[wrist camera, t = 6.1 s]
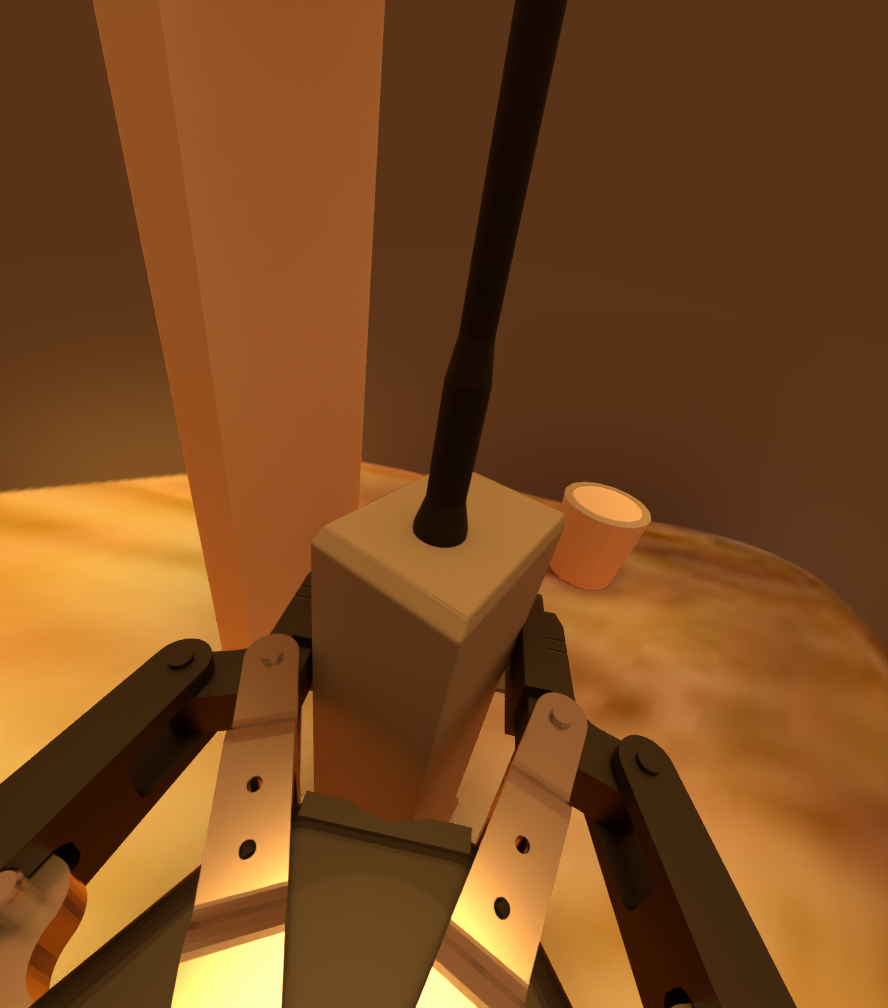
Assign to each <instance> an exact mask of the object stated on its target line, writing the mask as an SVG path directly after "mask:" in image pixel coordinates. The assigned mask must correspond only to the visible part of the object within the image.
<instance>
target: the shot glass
mask: <svg viewBox="0 0 888 1008" xmlns="http://www.w3.org/2000/svg"><path fill="white" fill-rule="evenodd" d="M560 512H562V513H564V514H565V522H564V529H563V532H562V534H561V537H560V539H559V542H558V544H557V546H556V549H555V551H554V554H553V556H552V559H551V561H550V564H549V565H550V567H551V570H552V571H553V572H554V573H555V574H556V575H557V576H558V577H559V578H560V579H562V580H564V581H565V582H567V583H568V584H570V585H572V586H575V587H578V588H581V589H584V590H600V589H604V588H606V587H607V586H608V585H609V584H610V582H611V581H612V580H613V578H614V576H615V575H616V573H617V572H618V570H619V569H620V567H621V566H622V564H623V563H624V561H625V560H626V558H627V557H628V555H629V553H630V552H631V550H632V549H633V547H634V546H635V544H636V543H637V541H638V540H639V538H640V537H641V535H642V534H643V532H644V531H645V529H646V527H647V526H648V524H649V523H650V521H651V516H650V512H649V511H648V509H647V508H646V507H645V506H644V505H643V504H642V503H641V502H640V501H638V500H637V499H635V498H634V497H632V496H631V495H629V494H627V493H625V492H622V491H620V490H618V489H616V488H612V487H609V486H606V485H602V484H598V483H590V482H580V483H573V484H571V485H570V486H568V487H566V490H565V494H564V498H563V502H562V506H561V510H560Z"/></svg>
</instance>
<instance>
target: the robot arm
mask: <svg viewBox="0 0 888 1008" xmlns="http://www.w3.org/2000/svg"><path fill="white" fill-rule="evenodd" d="M309 691H313V666H312V593H311V572H310V573H308V575H307V576H306V578H305V579H304V581H303V583H302V584H301V587H299V589H298V590H297V592H296V594H295V597H293V598H292V600H291V602H290V603H289V605H288V606H287V608H286V609H285V611H284V613H283V614H282V616H281V617H280V619H279V620H278V622H277V624H276V625H275V627H274V628H273V630H272V631H271V633H270V634H269V635H266V636H264V637H261V638H259V639H258V640H256V641H255V642H253V643H252V644H251V645H250V646H249V647H248V648H245V649H240V650H230V651H217V652H212V650H211V647H210V646H209V644H207V643H206V642H205V641H203V640H200V639H183V640H179V641H176V642H173V643H171V644H169V645H167V646H165V647H164V648H163V649H161V650H160V651H159V652H157V653H156V654H155V655H154V656H153V657H151V658H150V659H149V660H148V661H147V662H145V663H144V664H143V665H142V666H141V667H140V668H138V669H137V670H136V671H135V672H134V673H132V674H131V675H130V676H129V677H128V678H126V679H125V680H124V681H123V682H122V683H120V684H119V685H118V686H117V687H116V688H114V689H113V690H112V691H111V692H110V693H108V694H107V695H106V696H105V697H104V698H103V699H101V700H100V701H99V702H98V703H97V704H95V705H94V706H93V707H92V708H91V709H89V710H88V711H87V712H86V713H85V714H83V715H82V716H81V717H80V718H79V719H77V720H76V721H75V722H74V723H73V724H71V725H70V726H69V727H68V728H67V729H65V730H64V731H63V732H62V733H61V734H60V735H58V736H57V737H56V738H55V739H54V740H52V741H51V742H50V743H49V744H48V745H46V746H45V747H44V748H43V749H42V750H40V751H39V752H38V753H37V754H36V755H34V756H33V757H32V758H31V759H30V760H28V761H27V762H26V763H25V764H24V765H22V766H21V767H20V768H19V769H18V770H17V771H15V772H14V773H13V774H12V775H11V776H9V777H8V778H7V779H6V780H5V781H3V782H2V783H1V784H0V1008H573V1007H572V1005H571V1003H570V1001H569V999H568V997H567V995H566V993H565V991H564V989H563V987H562V985H561V983H560V981H559V979H558V977H557V975H556V973H555V971H554V969H553V967H552V965H551V963H550V961H549V959H548V957H547V955H546V952H545V950H544V948H543V946H542V944H541V942H540V937H541V933H542V929H543V925H544V921H545V917H546V913H547V909H548V905H549V901H550V897H551V893H552V889H553V885H554V881H555V877H556V873H557V869H558V865H559V861H560V857H561V853H562V849H563V845H564V841H565V837H566V833H567V829H568V825H569V820H570V816H571V809H572V807H571V806H573V807H574V808H576V809H578V810H579V811H581V812H583V813H584V815H585V819H586V822H587V825H588V828H589V832H590V835H591V838H592V841H593V845H594V848H595V851H596V854H597V858H598V861H599V864H600V867H601V871H602V874H603V877H604V880H605V884H606V887H607V890H608V894H609V897H610V900H611V903H612V907H613V910H614V913H615V916H616V920H617V923H618V926H619V929H620V933H621V936H622V939H623V942H624V946H625V949H626V952H627V955H628V959H629V962H630V965H631V969H632V972H633V975H634V978H635V982H636V985H637V988H638V991H639V995H640V998H641V1001H642V1004H643V1008H797V1007H796V1005H795V1003H794V1001H793V999H792V997H791V995H790V993H789V991H788V989H787V987H786V986H785V984H784V982H783V980H782V978H781V976H780V974H779V972H778V970H777V968H776V966H775V964H774V962H773V960H772V958H771V956H770V954H769V952H768V950H767V948H766V946H765V944H764V942H763V940H762V938H761V936H760V934H759V932H758V930H757V928H756V926H755V924H754V922H753V921H752V919H751V917H750V915H749V913H748V911H747V909H746V907H745V905H744V903H743V901H742V899H741V897H740V895H739V893H738V891H737V889H736V887H735V885H734V883H733V881H732V879H731V877H730V875H729V873H728V871H727V869H726V867H725V865H724V863H723V861H722V859H721V858H720V856H719V854H718V852H717V850H716V848H715V846H714V844H713V842H712V840H711V838H710V836H709V834H708V832H707V830H706V828H705V826H704V824H703V822H702V820H701V818H700V816H699V814H698V812H697V810H696V808H695V806H694V804H693V802H692V800H691V798H690V796H689V795H688V793H687V791H686V789H685V787H684V785H683V783H682V781H681V779H680V777H679V775H678V773H677V771H676V769H675V767H674V765H673V763H672V761H671V760H670V758H669V757H668V755H667V754H666V753H665V752H664V750H663V749H662V748H661V747H659V746H658V745H657V744H656V743H654V742H653V741H651V740H650V739H648V738H645V737H643V736H639V735H630V736H627V737H625V738H624V739H623V740H622V741H621V740H619V739H617V738H615V737H613V736H612V735H610V734H608V733H606V732H604V731H602V730H600V729H599V728H597V727H595V726H594V725H593V724H592V723H590V722H589V721H588V720H587V719H586V716H585V714H584V712H583V711H582V709H581V708H580V706H579V705H578V704H577V703H576V702H575V698H574V693H573V686H572V680H571V674H570V667H569V661H568V655H567V649H566V644H565V636H564V630H563V626H562V624H561V623H560V621H559V620H558V618H557V616H556V615H555V614H554V613H549V612H545V611H544V608H543V599H542V595H540V594H537V596H536V598H535V600H534V603H533V605H532V608H531V610H530V613H529V615H528V618H527V620H526V622H525V624H524V625H523V627H522V629H521V632H520V635H519V637H518V640H517V642H516V645H515V648H514V650H513V653H512V656H511V658H510V660H509V662H508V664H507V666H506V668H505V734H508V735H512V736H515V750H514V753H513V755H512V757H511V759H510V762H509V764H508V767H507V769H506V772H505V774H504V777H503V779H502V781H501V784H500V786H499V789H498V791H497V794H496V796H495V799H494V801H493V803H492V806H491V808H490V811H489V813H488V816H487V818H486V820H485V823H484V825H483V827H482V829H481V832H480V834H479V836H478V839H477V841H476V844H474V843H473V842H471V832H472V828H470V827H466V826H461V825H457V824H452V823H448V822H443V821H439V820H435V819H422V820H411V821H399V822H384V821H382V820H380V819H379V818H377V817H375V816H374V815H372V814H370V813H369V812H367V811H365V810H364V809H362V808H360V807H358V806H357V805H355V804H353V803H352V802H350V801H348V800H346V799H341V798H337V797H333V796H328V795H324V794H319V793H315V792H310V791H307V792H306V795H305V797H304V800H303V802H302V804H300V761H301V727H302V705H303V703H304V701H305V698H306V696H307V694H308V692H309ZM225 730H227V732H226V735H225V739H224V743H223V749H222V754H221V760H220V765H219V771H218V777H217V782H216V788H215V793H214V799H213V804H212V810H211V816H210V821H209V827H208V832H207V838H206V843H205V849H204V854H203V860H202V864H201V865H200V866H199V867H198V868H196V869H195V870H194V871H193V872H192V873H190V874H189V875H188V876H187V877H185V878H184V879H183V880H182V881H181V882H179V883H178V884H177V885H176V886H175V887H173V888H172V889H171V890H170V891H168V892H167V893H166V894H165V895H164V896H162V897H161V898H160V899H159V900H158V901H156V902H155V903H154V904H153V905H151V906H150V907H149V908H148V909H147V910H145V911H144V912H143V913H142V914H141V915H139V916H138V917H137V918H136V919H135V920H133V921H132V922H131V923H130V924H128V925H127V926H126V927H125V928H124V929H122V930H121V931H120V932H119V933H118V934H116V935H115V936H114V937H113V938H111V939H110V940H109V941H108V942H107V943H105V944H104V945H103V946H102V947H101V948H99V949H98V950H97V951H96V952H94V953H93V954H92V955H91V956H90V957H88V958H87V959H86V960H85V961H84V962H82V963H81V964H80V965H79V966H77V967H76V968H75V969H74V970H73V971H71V972H70V973H69V974H68V975H67V976H65V977H64V978H63V979H62V980H61V981H59V982H58V983H57V984H56V985H54V986H53V987H52V988H51V989H50V990H49V986H50V980H51V976H52V973H53V970H54V967H55V965H56V962H57V960H58V958H59V956H60V954H61V952H62V951H63V949H64V947H65V946H66V944H67V943H68V941H69V940H70V939H71V937H72V936H73V934H74V933H75V931H76V930H77V928H78V926H79V924H80V922H81V920H82V918H83V915H84V913H85V909H86V905H87V890H86V885H87V884H88V882H89V881H90V880H91V879H92V878H93V877H94V875H95V874H96V873H97V872H98V871H99V870H100V868H101V867H102V866H103V865H104V864H105V863H106V861H107V860H108V859H109V858H110V857H111V855H112V854H113V853H114V852H115V851H116V850H117V848H118V847H119V846H120V845H121V844H122V843H123V841H124V840H125V839H126V838H127V837H128V836H129V834H130V833H131V832H132V831H133V830H134V829H135V827H136V826H137V825H138V824H139V823H140V821H141V820H142V819H143V818H144V817H145V816H146V814H147V813H148V812H149V811H150V810H151V809H152V807H153V806H154V805H155V804H156V803H157V802H158V800H159V799H160V798H161V797H162V796H163V794H164V793H165V792H166V791H167V790H168V789H169V787H170V786H171V785H172V784H173V783H174V782H175V780H176V779H177V778H178V777H179V776H180V775H181V773H182V772H183V771H184V770H185V769H186V767H187V766H188V765H189V764H190V763H191V762H192V760H193V759H194V758H195V757H196V756H197V755H198V753H199V752H200V751H201V750H202V749H203V748H204V746H205V745H206V744H207V743H208V742H209V741H210V739H211V738H212V737H213V736H214V735H215V733H216V732H217V731H225Z"/></svg>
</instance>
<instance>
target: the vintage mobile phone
mask: <svg viewBox="0 0 888 1008" xmlns="http://www.w3.org/2000/svg"><path fill="white" fill-rule="evenodd" d="M566 5H567V0H515V5H514V11H513V18H512V23H511V28H510V35H509V40H508V47H507V52H506V59H505V65H504V70H503V76H502V82H501V88H500V94H499V100H498V106H497V112H496V118H495V123H494V129H493V135H492V141H491V147H490V153H489V159H488V165H487V171H486V177H485V183H484V189H483V194H482V200H481V206H480V212H479V218H478V224H477V230H476V237H475V242H474V248H473V254H472V259H471V266H470V271H469V277H468V284H467V289H466V295H465V301H464V307H463V313H462V319H461V325H460V331H459V335H458V338H457V341H456V344H455V347H454V351H453V354H452V357H451V360H450V363H449V366H448V369H447V372H446V375H445V379H444V386H443V391H442V397H441V404H440V410H439V416H438V422H437V429H436V435H435V441H434V447H433V454H432V460H431V466H430V472H429V474H427V475H425V476H423V477H421V478H419V479H417V480H415V481H413V482H411V483H409V484H407V485H405V486H403V487H401V488H399V489H397V490H395V491H393V492H391V493H389V494H387V495H385V496H383V497H381V498H379V499H377V500H375V501H373V502H371V503H369V504H367V505H365V506H363V507H361V508H359V509H357V510H355V511H353V512H351V513H349V514H347V515H345V516H343V517H341V518H339V519H337V520H334V521H332V522H330V523H328V524H326V525H325V526H324V527H323V528H322V529H321V530H320V532H319V533H318V534H317V535H316V536H315V538H314V539H313V540H312V542H311V593H312V666H313V740H314V792H315V793H319V794H324V795H328V796H333V797H337V798H341V799H346V800H348V801H350V802H352V803H353V804H355V805H357V806H358V807H360V808H362V809H364V810H365V811H367V812H369V813H370V814H372V815H374V816H375V817H377V818H379V819H380V820H382V821H384V822H399V821H411V820H422V819H435V820H439V821H443V822H448V821H449V819H450V818H451V816H452V814H453V813H454V811H455V809H456V806H457V804H458V799H457V798H456V794H457V792H458V789H459V786H460V783H461V781H462V778H463V775H464V773H465V770H466V767H467V765H468V762H469V759H470V757H471V754H472V751H473V749H474V746H475V743H476V741H477V738H478V735H479V733H480V730H481V727H482V725H483V722H484V719H485V717H486V714H487V711H488V709H489V706H490V703H491V701H492V698H493V695H494V693H495V690H496V687H497V685H498V683H499V681H500V679H501V677H502V675H503V672H504V670H505V668H506V666H507V664H508V662H509V660H510V658H511V656H512V653H513V650H514V648H515V645H516V642H517V640H518V637H519V635H520V632H521V629H522V627H523V625H524V624H525V622H526V620H527V618H528V615H529V613H530V610H531V608H532V605H533V603H534V600H535V598H536V596H537V593H538V591H539V588H540V586H541V583H542V581H543V578H544V576H545V573H546V571H547V569H548V566H549V564H550V561H551V559H552V556H553V554H554V551H555V549H556V546H557V544H558V542H559V539H560V537H561V534H562V532H563V529H564V522H565V514H564V513H562V512H560V511H558V510H555V509H553V508H551V507H549V506H547V505H545V504H542V503H540V502H538V501H536V500H534V499H531V498H529V497H527V496H525V495H523V494H520V493H518V492H516V491H514V490H512V489H509V488H507V487H505V486H503V485H500V484H498V483H496V482H494V481H492V480H490V479H487V478H485V477H483V476H481V475H479V474H476V473H474V472H473V469H474V464H475V460H476V455H477V450H478V446H479V442H480V437H481V433H482V428H483V424H484V419H485V414H486V410H487V406H488V401H489V396H490V392H491V388H492V375H493V360H494V345H495V337H496V332H497V327H498V323H499V318H500V313H501V309H502V304H503V299H504V295H505V290H506V285H507V280H508V276H509V271H510V266H511V262H512V257H513V253H514V248H515V243H516V238H517V234H518V229H519V224H520V220H521V215H522V210H523V206H524V201H525V196H526V192H527V187H528V182H529V178H530V172H531V168H532V164H533V159H534V154H535V150H536V145H537V140H538V136H539V130H540V126H541V121H542V117H543V112H544V107H545V103H546V98H547V93H548V88H549V84H550V79H551V74H552V69H553V65H554V60H555V56H556V51H557V46H558V42H559V37H560V32H561V28H562V23H563V19H564V14H565V9H566Z"/></svg>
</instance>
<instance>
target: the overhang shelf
mask: <svg viewBox="0 0 888 1008" xmlns="http://www.w3.org/2000/svg"><path fill="white" fill-rule="evenodd" d="M93 4H94V9H95V13H96V19H97V24H98V29H99V34H100V39H101V44H102V49H103V54H104V59H105V64H106V69H107V74H108V79H109V84H110V89H111V94H112V99H113V104H114V109H115V114H116V119H117V124H118V129H119V134H120V139H121V144H122V149H123V154H124V159H125V164H126V169H127V174H128V179H129V184H130V189H131V194H132V199H133V204H134V209H135V214H136V219H137V224H138V229H139V234H140V239H141V244H142V249H143V254H144V259H145V264H146V269H147V274H148V279H149V284H150V289H151V294H152V299H153V304H154V309H155V314H156V319H157V324H158V329H159V334H160V339H161V344H162V349H163V354H164V359H165V364H166V369H167V374H168V379H169V384H170V389H171V394H172V399H173V404H174V409H175V414H176V419H177V424H178V430H179V435H180V439H181V444H182V449H183V455H184V459H185V464H186V470H187V475H188V480H189V485H190V490H191V495H192V500H193V505H194V510H195V515H196V520H197V525H198V530H199V535H200V540H201V545H202V550H203V555H204V560H205V565H206V570H207V575H208V580H209V585H210V590H211V595H212V600H213V605H214V610H215V615H216V620H217V625H218V630H219V635H220V640H221V645H222V650H223V651H230V650H240V649H245V648H248V647H249V646H250V645H251V644H252V643H253V642H255V641H256V640H258V639H259V638H261V637H264V636H266V635H269V634H270V633H271V631H272V630H273V628H274V627H275V625H276V624H277V622H278V620H279V619H280V617H281V616H282V614H283V613H284V611H285V609H286V608H287V606H288V605H289V603H290V602H291V600H292V598H293V597H295V594H296V592H297V590H298V589H299V587H301V584H302V583H303V581H304V579H305V578H306V576H307V575H308V573H310V572H311V542H312V540H313V539H314V538H315V536H316V535H317V534H318V533H319V532H320V530H321V529H322V528H323V527H324V526H325V525H326V524H328V523H330V522H332V521H334V520H337V519H339V518H341V517H343V516H345V515H347V514H349V513H351V512H353V511H355V510H357V509H358V507H359V488H360V469H361V450H362V429H363V410H364V391H365V373H366V353H367V352H366V351H367V335H368V315H369V296H370V277H371V275H370V274H371V258H372V239H373V219H374V218H373V217H374V200H375V181H376V160H377V143H378V141H377V140H378V123H379V104H380V84H381V65H382V45H383V26H384V8H385V0H93ZM495 691H499V692H503V693H505V670H504V672H503V675H502V677H501V679H500V681H499V683H498V685H497V687H496V690H495Z"/></svg>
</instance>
